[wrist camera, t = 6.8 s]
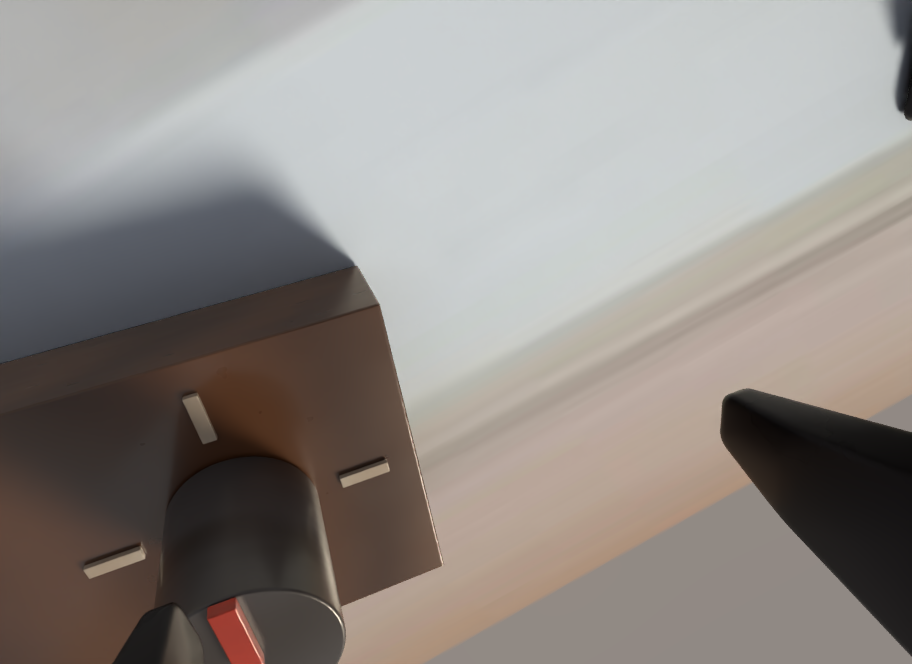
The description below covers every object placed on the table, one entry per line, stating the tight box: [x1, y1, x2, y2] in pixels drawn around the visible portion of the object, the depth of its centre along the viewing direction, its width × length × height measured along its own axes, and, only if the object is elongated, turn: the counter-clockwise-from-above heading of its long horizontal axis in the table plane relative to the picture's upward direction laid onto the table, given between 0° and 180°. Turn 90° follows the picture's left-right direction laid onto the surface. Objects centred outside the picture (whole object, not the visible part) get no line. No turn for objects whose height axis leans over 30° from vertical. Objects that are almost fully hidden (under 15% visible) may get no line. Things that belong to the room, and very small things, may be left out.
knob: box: [154, 456, 346, 664], centre depth 14 cm, size 4×4×5 cm
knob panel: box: [0, 266, 443, 664], centre depth 17 cm, size 14×10×3 cm
